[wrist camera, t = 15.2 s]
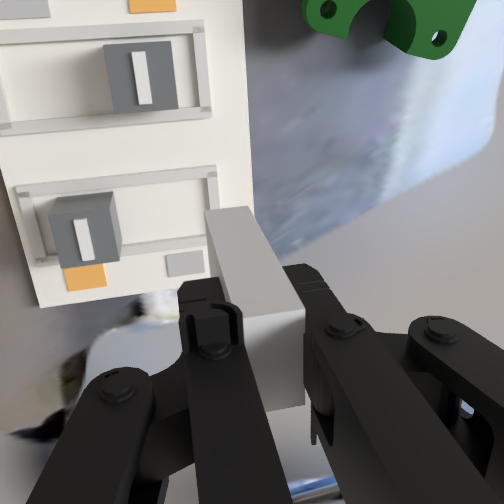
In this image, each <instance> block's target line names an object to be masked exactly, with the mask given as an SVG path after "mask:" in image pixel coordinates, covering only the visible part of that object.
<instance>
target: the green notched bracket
mask: <svg viewBox="0 0 504 504" xmlns="http://www.w3.org/2000/svg"><path fill="white" fill-rule="evenodd" d="M325 1H327V0H302V4H301V11H302V15H303V18H304V20H305V21H306V22H307V23H308V24H309V25H310V26H311V27H312V28H313V29H314V30H316V31H318V32H320V33H324V34H328V35H332V36H337V37H341V38H345V39H348V31H349V28H350V25H351V22H352V20H353V18H354V16H355V15H356V13H357V12H358V10H359V9H360V8H361V7H362V6H363V5H364V4H365V3H367V2H368V1H369V0H328V2H327V5H326V8H325V12H324V14H323V15H321V14H320V7H321V5H322V4H323V3H324V2H325ZM388 1H389V5H390V18H389V23H388V26H387V28H386V30H385V32H384V35H383V36H382V38H384V39H385V40H387V41H388V42H390V43H391V44H393V45H394V46H396V47H397V48H399V49H400V50H402V51H403V52H404V53H406V54H410V55H414V56H418V57H422V58H426V59H431V60H437V59H441V58H443V57H445V56H446V55H448V54H449V53H450V52H451V51H452V50H453V48H454V47H455V45H456V43H457V41H458V39H459V37H460V35H461V33H462V31H463V28H464V26H465V24H466V22H467V20H468V18H469V16H470V14H471V11H472V9H473V7H474V5H475V3H476V1H477V0H388ZM437 31H438V34H437V37H436V38H435V39H434V40H433V41H432V37H433V35H434V34H435V33H436V32H437Z"/></svg>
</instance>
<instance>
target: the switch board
mask: <svg viewBox="0 0 504 504" xmlns="http://www.w3.org/2000/svg"><path fill="white" fill-rule="evenodd" d="M156 41H171V47H172V55H173V64H174V72H175V81H176V90H177V98H178V107H179V109H175V110H163V111H151V112H139V113H127V114H114V108H113V102H112V96H111V90H110V85H109V79H108V73H107V67H106V61H105V56H104V50H103V45H106V44H123V43H139V42H156ZM0 168H1V171H2V175H3V178H4V182H5V186H6V189H7V193H8V196H9V200H10V203H11V207H12V210H13V214H14V217H15V221H16V224H17V228H18V231H19V235H20V238H21V242H22V245H23V249H24V252H25V256H26V259H27V263H28V266H29V270H30V273H31V277H32V280H33V284H34V287H35V291H36V294H37V298H38V301H39V305H40V308H44V307H51V306H58V305H65V304H72V303H79V302H86V301H92V300H99V299H106V298H113V297H120V296H127V295H134V294H140V293H147V292H154V291H161V290H168V289H175V288H180V286H181V285H182V283H183V282H184V281H190V280H197V279H204V278H210V268H209V258H208V248H207V238H206V228H205V218H204V210H213V209H222V208H230V207H239V206H248V207H249V209H250V210H251V212H252V214H253V216H254V204H253V186H252V169H251V151H250V133H249V115H248V97H247V80H246V62H245V44H244V26H243V8H242V0H0ZM110 191H113V193H114V198H115V204H116V209H117V214H118V220H119V225H120V230H121V236H122V246H121V255H120V261H117V262H110V263H102V264H95V265H87V266H80V267H72V268H65V269H61V267H60V263H59V259H58V256H57V252H56V248H55V244H54V240H53V236H52V232H51V228H50V224H49V220H48V216H47V215H48V213H49V211H50V209H51V208H52V206H53V204H54V203H55V201H56V199H57V197H65V196H74V195H83V194H92V193H101V192H110Z"/></svg>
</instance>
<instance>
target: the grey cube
mask: <svg viewBox="0 0 504 504" xmlns="http://www.w3.org/2000/svg"><path fill="white" fill-rule="evenodd" d="M47 216H48V220H49V224H50V228H51V232H52V236H53V240H54V244H55V248H56V252H57V256H58V259H59V263H60V267H61V269H65V268H72V267H80V266H87V265H95V264H102V263H110V262H117V261H120V255H121V246H122V236H121V230H120V225H119V220H118V214H117V209H116V204H115V198H114V193H113V191H110V192H101V193H92V194H83V195H74V196H65V197H57V199H56V201H55V203H54V204H53V206H52V208H51V209H50V211H49V213H48V215H47Z"/></svg>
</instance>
